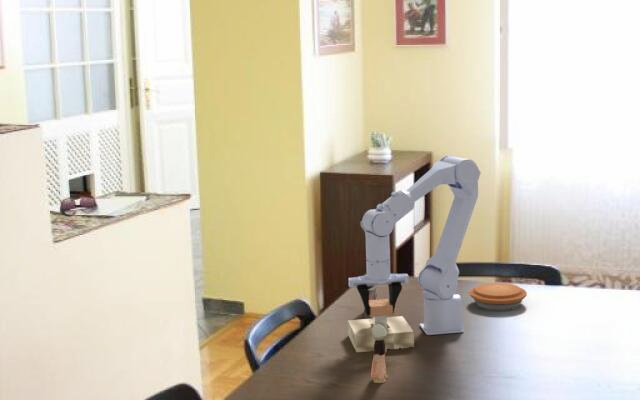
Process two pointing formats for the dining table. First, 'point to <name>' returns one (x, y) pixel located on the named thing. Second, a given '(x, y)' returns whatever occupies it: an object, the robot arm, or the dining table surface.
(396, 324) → the holder
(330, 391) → the dining table surface
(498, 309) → the pie
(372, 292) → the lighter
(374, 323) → the orange brown block
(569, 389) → the dining table surface
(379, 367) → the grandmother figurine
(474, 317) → the dining table surface
